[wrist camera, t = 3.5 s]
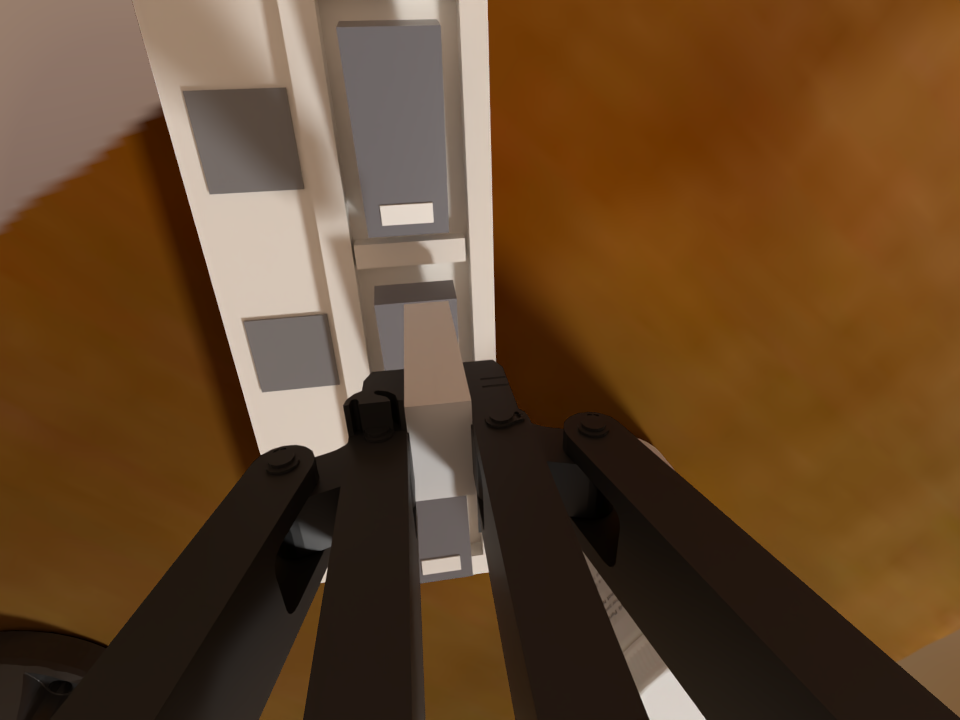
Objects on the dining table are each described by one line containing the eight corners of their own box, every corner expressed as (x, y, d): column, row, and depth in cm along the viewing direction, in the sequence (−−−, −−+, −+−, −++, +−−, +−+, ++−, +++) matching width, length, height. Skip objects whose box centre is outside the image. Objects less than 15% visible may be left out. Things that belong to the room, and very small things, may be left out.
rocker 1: (369, 222, 21) (368, 238, 20) (338, 21, 16) (335, 27, 15) (445, 217, 21) (449, 233, 20) (436, 19, 17) (441, 25, 16)
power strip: (323, 597, 36) (313, 666, 32) (166, -26, 20) (100, -65, 16) (491, 573, 37) (503, 634, 33) (469, -28, 21) (488, -64, 17)
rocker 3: (412, 568, 28) (412, 585, 26) (398, 448, 26) (398, 460, 25) (469, 559, 28) (473, 576, 27) (460, 441, 27) (463, 452, 25)
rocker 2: (393, 407, 25) (393, 429, 24) (374, 286, 20) (373, 306, 19) (457, 399, 25) (460, 421, 24) (452, 279, 21) (456, 299, 20)
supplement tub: (507, 513, 35) (572, 751, 22) (583, 407, 32) (711, 610, 19) (614, 550, 38) (726, 776, 25) (692, 457, 35) (865, 659, 22)
